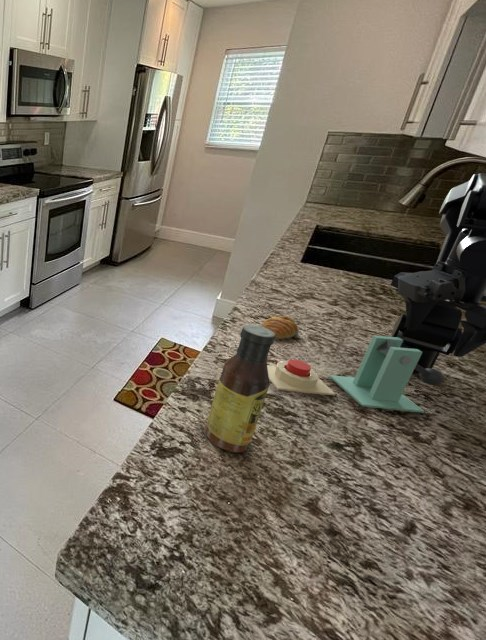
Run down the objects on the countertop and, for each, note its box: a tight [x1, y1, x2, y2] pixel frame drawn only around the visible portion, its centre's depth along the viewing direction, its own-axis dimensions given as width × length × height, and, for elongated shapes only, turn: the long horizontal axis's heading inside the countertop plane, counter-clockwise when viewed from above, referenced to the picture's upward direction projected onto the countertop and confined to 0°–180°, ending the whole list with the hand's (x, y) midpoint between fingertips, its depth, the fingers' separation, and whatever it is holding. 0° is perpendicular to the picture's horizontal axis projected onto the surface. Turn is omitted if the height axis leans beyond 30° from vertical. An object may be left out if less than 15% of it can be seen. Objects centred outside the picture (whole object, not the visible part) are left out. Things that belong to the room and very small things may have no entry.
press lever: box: [377, 341, 445, 386], centre depth 74 cm, size 12×3×3 cm, turn 83°
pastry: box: [261, 314, 299, 340], centre depth 99 cm, size 9×7×4 cm
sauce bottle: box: [205, 323, 275, 454], centre depth 62 cm, size 7×6×20 cm
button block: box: [267, 360, 336, 396], centre depth 80 cm, size 10×8×3 cm
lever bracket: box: [329, 335, 425, 414], centre depth 76 cm, size 10×9×12 cm
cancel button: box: [286, 358, 312, 377], centre depth 80 cm, size 4×4×2 cm
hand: (432, 342), depth 74 cm, fingers open, 9 cm apart
